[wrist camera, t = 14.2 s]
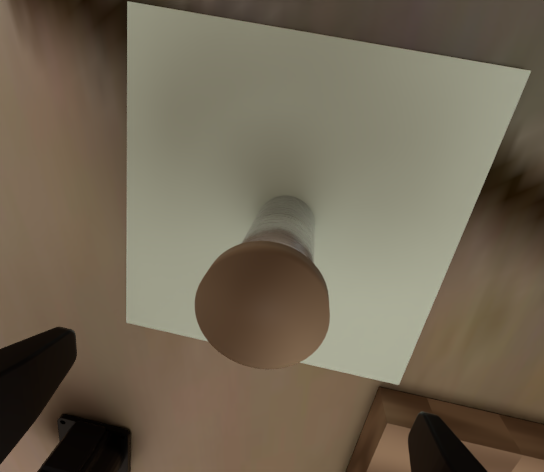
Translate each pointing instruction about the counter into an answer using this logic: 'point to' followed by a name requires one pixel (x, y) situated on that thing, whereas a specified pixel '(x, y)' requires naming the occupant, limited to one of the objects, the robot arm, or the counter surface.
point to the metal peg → (267, 291)
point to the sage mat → (304, 168)
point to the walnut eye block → (461, 420)
